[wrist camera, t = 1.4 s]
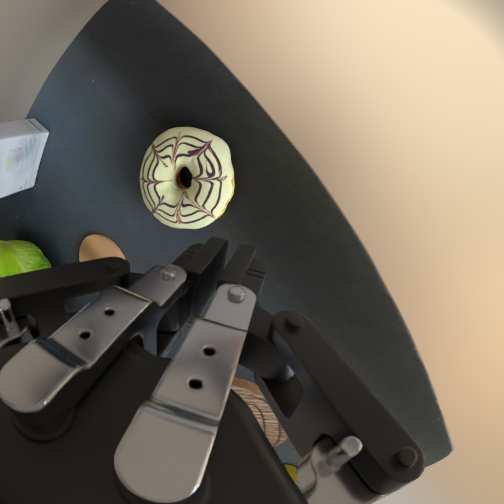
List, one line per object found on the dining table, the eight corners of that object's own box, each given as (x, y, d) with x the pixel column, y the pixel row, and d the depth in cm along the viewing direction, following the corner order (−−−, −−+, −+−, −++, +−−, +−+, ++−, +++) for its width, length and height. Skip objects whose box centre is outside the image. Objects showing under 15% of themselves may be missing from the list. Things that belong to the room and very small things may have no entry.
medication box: (317, 474, 51) (318, 486, 47) (309, 477, 52) (309, 489, 48) (286, 463, 49) (285, 476, 46) (277, 466, 50) (277, 479, 46)
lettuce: (22, 204, 36) (-25, 222, 23) (89, 278, 43) (53, 318, 30) (-1, 256, 38) (-40, 281, 26) (59, 321, 45) (28, 361, 32)
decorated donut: (240, 126, 26) (231, 123, 23) (238, 225, 30) (229, 236, 27) (151, 131, 28) (133, 130, 24) (155, 219, 32) (138, 229, 28)
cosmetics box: (35, 187, 34) (-12, 204, 24) (19, 170, 34) (-25, 183, 24) (51, 131, 30) (-3, 139, 20) (34, 117, 29) (-15, 123, 20)
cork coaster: (84, 222, 34) (82, 223, 34) (135, 254, 34) (134, 255, 34) (78, 275, 38) (77, 276, 38) (124, 306, 38) (123, 307, 38)
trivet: (185, 435, 52) (182, 441, 50) (144, 362, 43) (139, 369, 41) (293, 447, 46) (292, 454, 44) (289, 374, 37) (288, 384, 35)
